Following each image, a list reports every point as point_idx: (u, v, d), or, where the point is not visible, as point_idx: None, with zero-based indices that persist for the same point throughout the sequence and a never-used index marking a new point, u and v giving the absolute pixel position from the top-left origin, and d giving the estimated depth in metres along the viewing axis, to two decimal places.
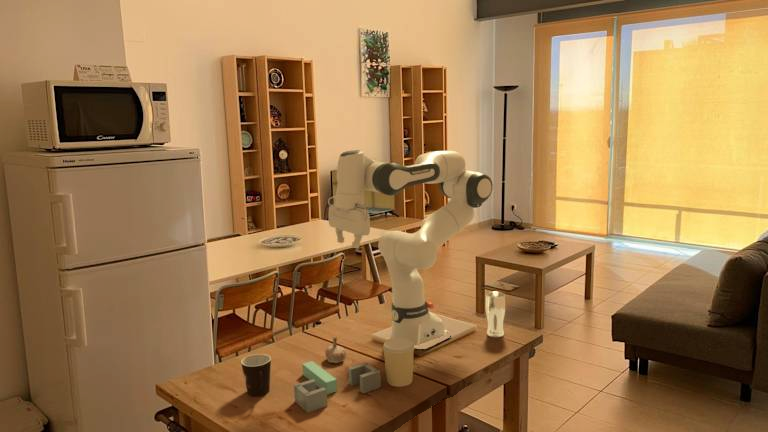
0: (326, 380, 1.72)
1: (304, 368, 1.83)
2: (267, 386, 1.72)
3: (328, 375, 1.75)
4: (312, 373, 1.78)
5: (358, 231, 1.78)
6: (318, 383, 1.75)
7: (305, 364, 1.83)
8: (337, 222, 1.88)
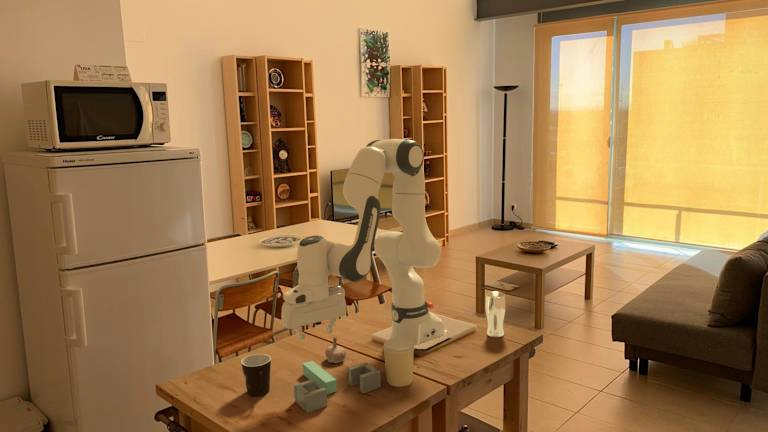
0: (326, 380, 1.72)
1: (304, 368, 1.83)
2: (267, 386, 1.72)
3: (328, 375, 1.75)
4: (312, 373, 1.78)
5: (343, 312, 1.78)
6: (318, 383, 1.75)
7: (305, 364, 1.83)
8: (305, 318, 1.71)
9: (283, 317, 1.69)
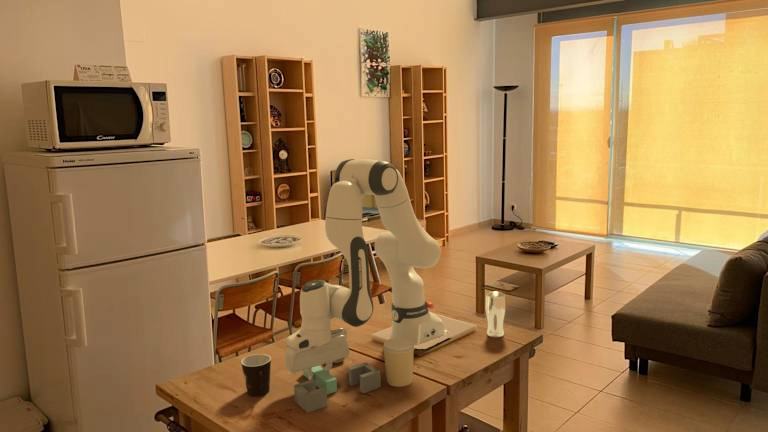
0: (326, 379, 1.72)
1: None
2: (267, 386, 1.72)
3: (328, 375, 1.75)
4: None
5: (346, 353, 1.80)
6: (318, 382, 1.75)
7: None
8: (308, 362, 1.73)
9: (286, 361, 1.72)
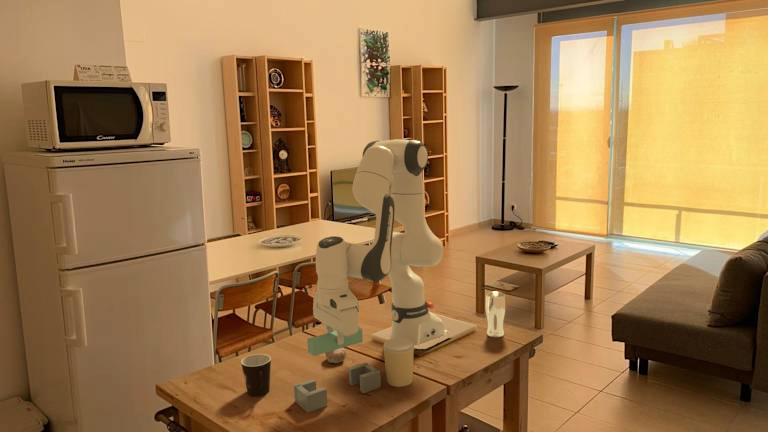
0: None
1: (317, 344, 1.63)
2: (267, 386, 1.72)
3: None
4: (335, 338, 1.66)
5: None
6: (347, 340, 1.68)
7: (315, 340, 1.63)
8: None
9: (350, 325, 1.58)
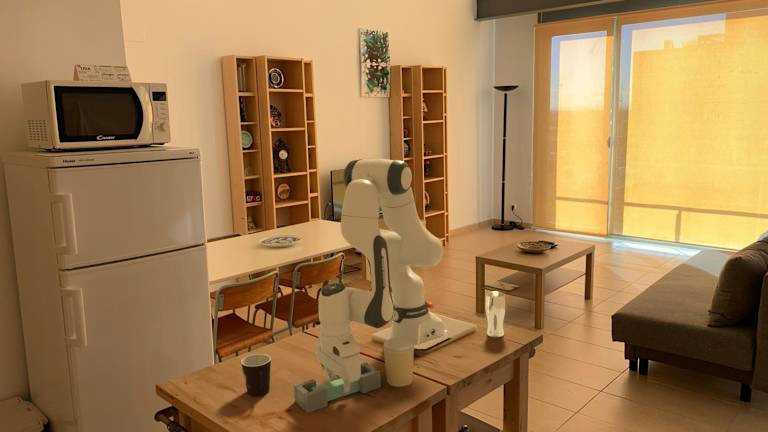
0: None
1: None
2: (267, 386, 1.72)
3: None
4: (337, 387, 1.68)
5: None
6: (350, 388, 1.71)
7: None
8: None
9: (353, 372, 1.61)
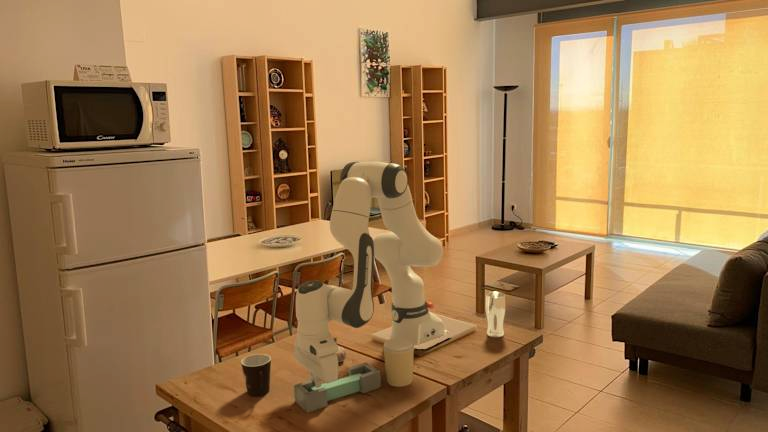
0: None
1: None
2: (267, 386, 1.72)
3: (350, 377, 1.73)
4: (337, 387, 1.68)
5: None
6: (350, 389, 1.71)
7: None
8: None
9: (330, 372, 1.56)
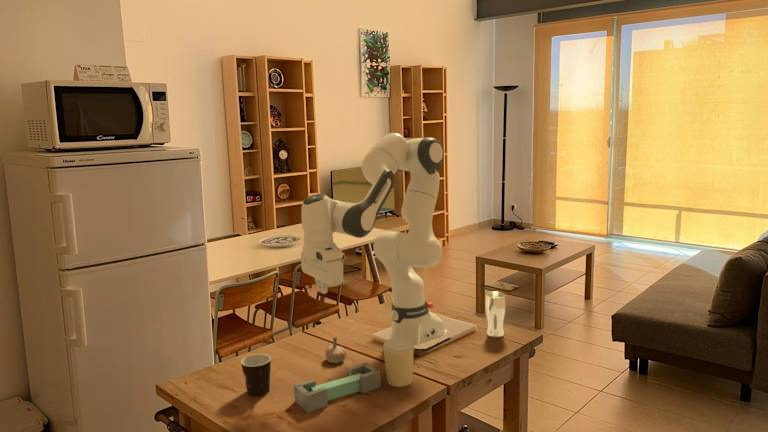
0: None
1: None
2: (267, 386, 1.72)
3: (350, 377, 1.73)
4: (337, 387, 1.68)
5: None
6: (350, 389, 1.71)
7: None
8: None
9: (335, 275, 1.69)
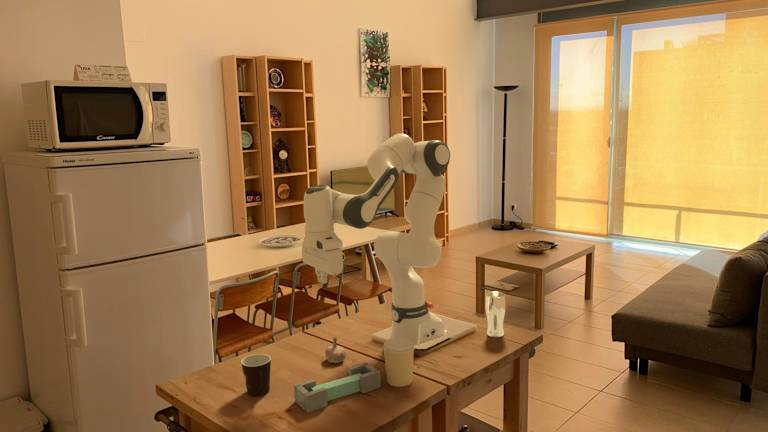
0: None
1: None
2: (267, 386, 1.72)
3: (350, 377, 1.73)
4: (337, 387, 1.68)
5: None
6: (350, 389, 1.71)
7: None
8: None
9: (335, 264, 1.71)
